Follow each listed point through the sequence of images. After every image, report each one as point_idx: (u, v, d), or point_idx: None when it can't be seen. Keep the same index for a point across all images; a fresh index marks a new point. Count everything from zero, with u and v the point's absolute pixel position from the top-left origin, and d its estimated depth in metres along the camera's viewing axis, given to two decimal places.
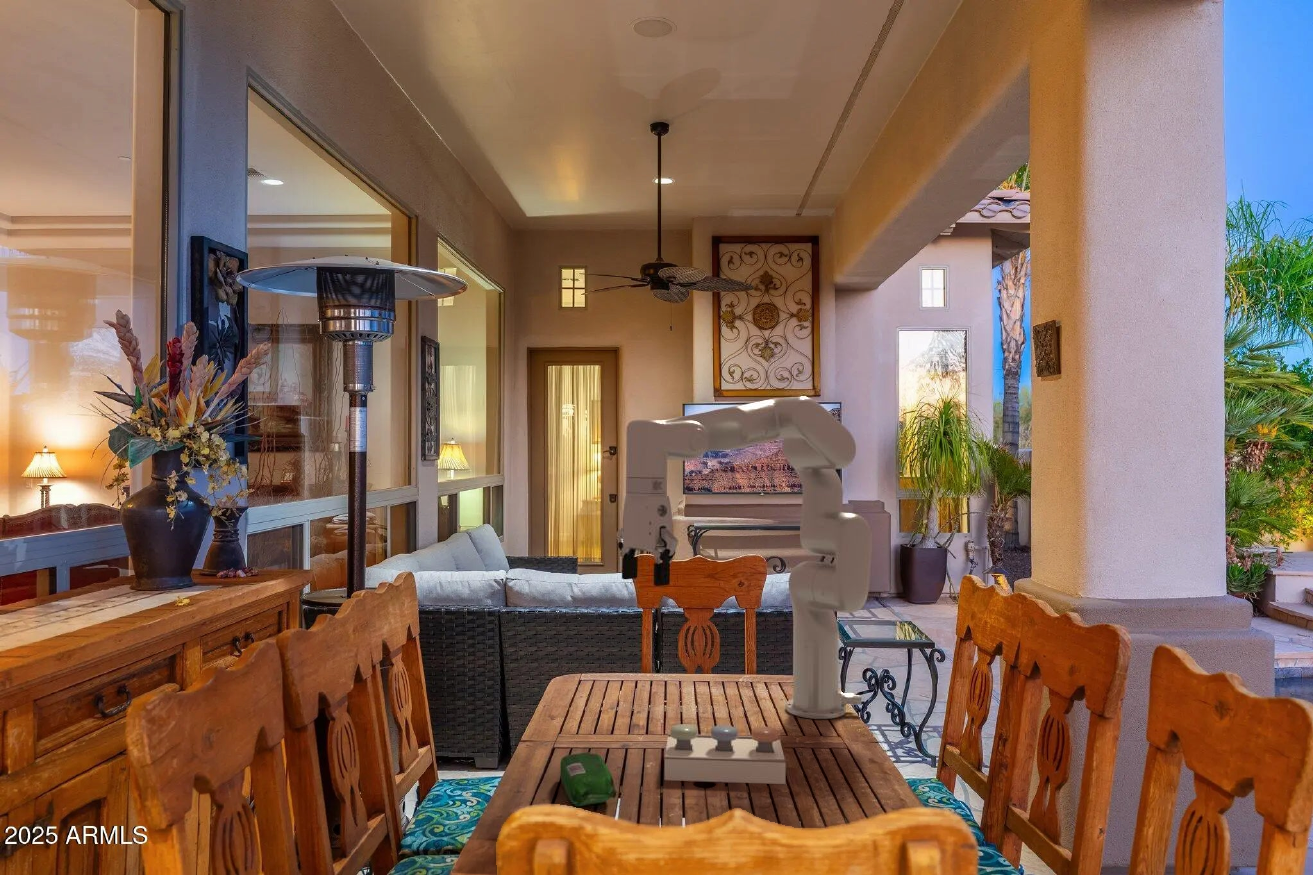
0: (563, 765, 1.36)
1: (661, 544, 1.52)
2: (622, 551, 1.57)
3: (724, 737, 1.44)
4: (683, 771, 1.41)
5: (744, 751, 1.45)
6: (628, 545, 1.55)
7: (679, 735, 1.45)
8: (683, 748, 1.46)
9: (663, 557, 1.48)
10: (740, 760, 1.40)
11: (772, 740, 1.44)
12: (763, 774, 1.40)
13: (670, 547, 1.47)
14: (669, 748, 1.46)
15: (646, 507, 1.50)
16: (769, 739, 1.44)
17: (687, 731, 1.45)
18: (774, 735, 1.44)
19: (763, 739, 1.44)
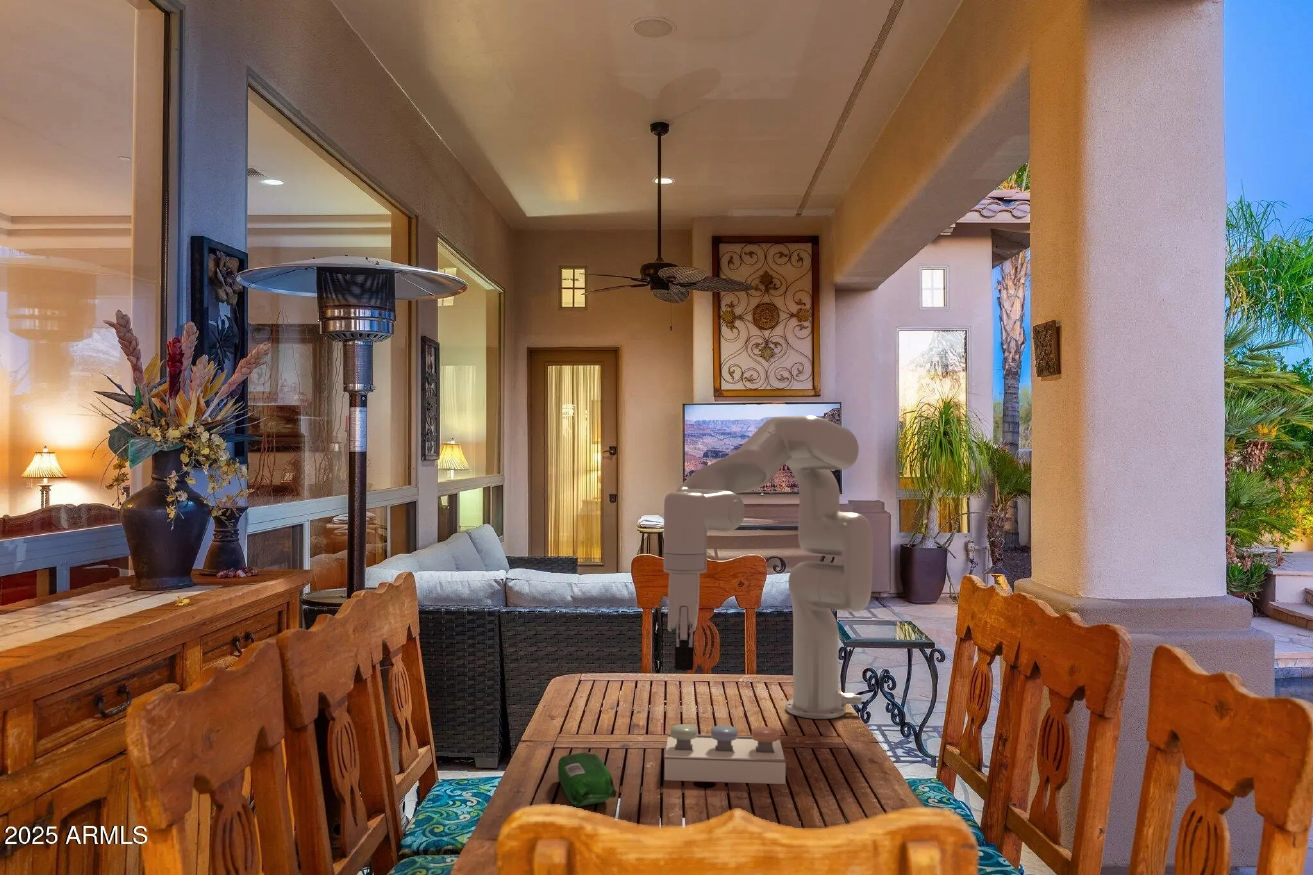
0: (561, 765, 1.36)
1: None
2: (691, 641, 1.46)
3: (724, 737, 1.44)
4: (683, 771, 1.41)
5: (744, 751, 1.45)
6: None
7: (679, 735, 1.45)
8: (683, 748, 1.46)
9: None
10: (740, 760, 1.40)
11: (772, 740, 1.44)
12: (763, 774, 1.40)
13: None
14: (669, 748, 1.46)
15: None
16: (769, 739, 1.44)
17: (687, 731, 1.45)
18: (774, 735, 1.44)
19: (763, 739, 1.44)
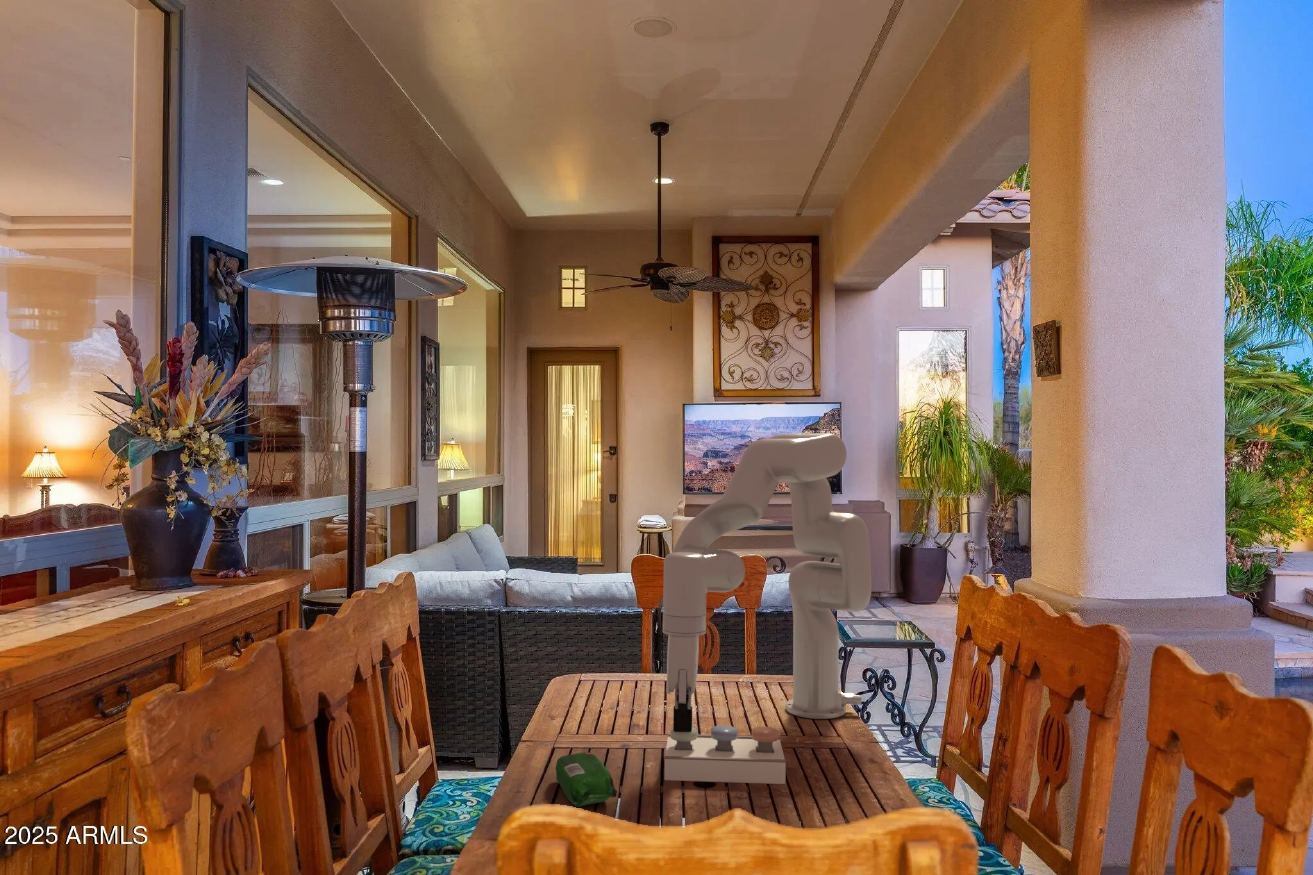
0: (560, 766, 1.36)
1: None
2: (690, 704, 1.45)
3: (724, 737, 1.44)
4: (683, 771, 1.41)
5: (744, 751, 1.45)
6: None
7: (679, 737, 1.45)
8: None
9: None
10: (740, 760, 1.40)
11: (772, 740, 1.44)
12: (763, 774, 1.40)
13: None
14: (669, 748, 1.46)
15: None
16: (769, 739, 1.44)
17: (687, 733, 1.45)
18: (774, 735, 1.44)
19: (763, 739, 1.44)
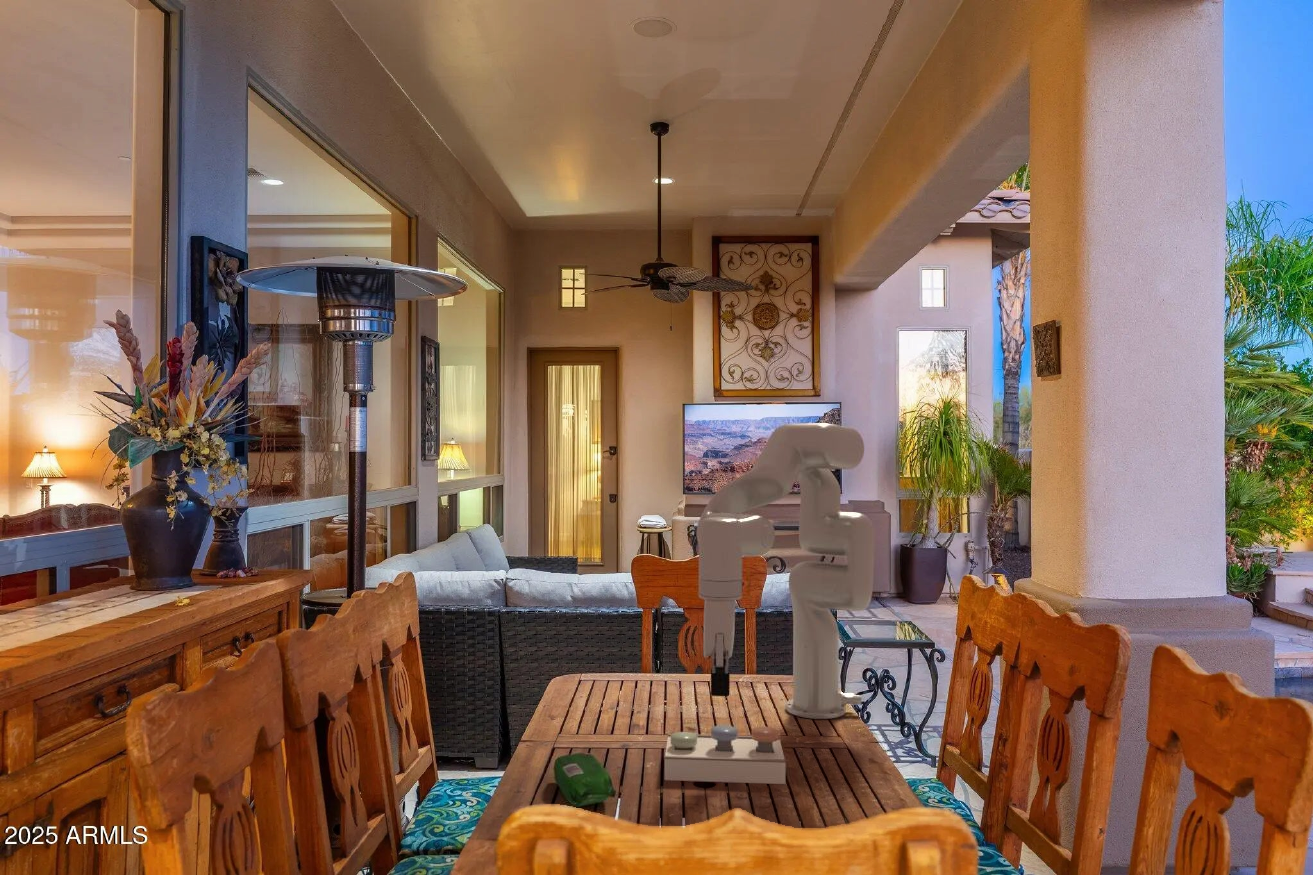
0: (558, 766, 1.36)
1: None
2: (727, 668, 1.45)
3: (724, 737, 1.44)
4: (683, 771, 1.41)
5: (744, 751, 1.45)
6: None
7: (679, 743, 1.45)
8: None
9: None
10: (740, 760, 1.40)
11: (772, 740, 1.44)
12: (763, 774, 1.40)
13: None
14: (669, 748, 1.46)
15: None
16: (769, 739, 1.44)
17: (687, 739, 1.45)
18: (774, 735, 1.44)
19: (763, 739, 1.44)
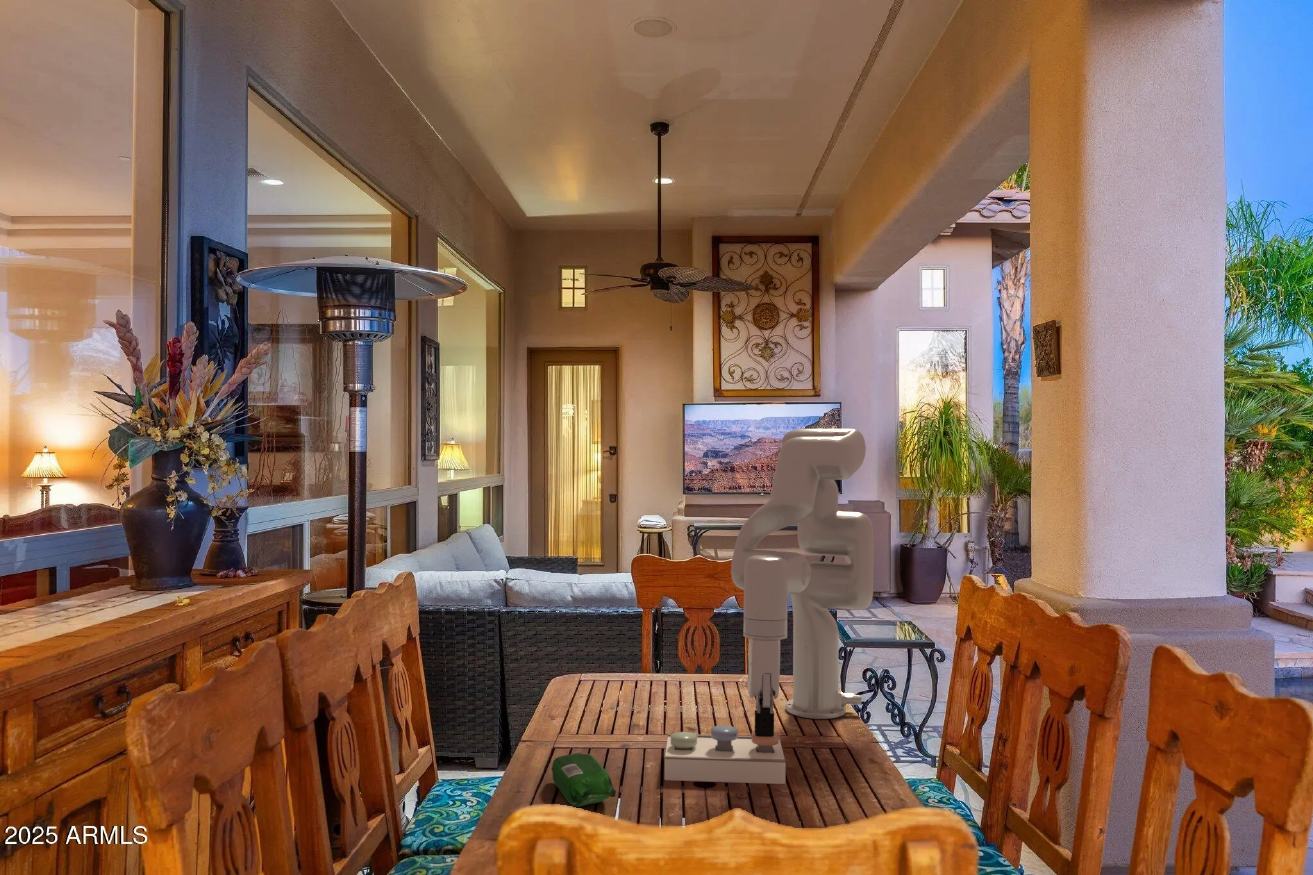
0: (557, 766, 1.35)
1: None
2: None
3: (724, 737, 1.44)
4: (683, 771, 1.41)
5: (744, 751, 1.45)
6: None
7: (679, 743, 1.45)
8: None
9: None
10: (740, 760, 1.40)
11: (772, 744, 1.44)
12: (763, 774, 1.40)
13: None
14: (669, 748, 1.46)
15: None
16: (769, 743, 1.44)
17: (687, 739, 1.45)
18: (774, 739, 1.44)
19: (763, 743, 1.44)
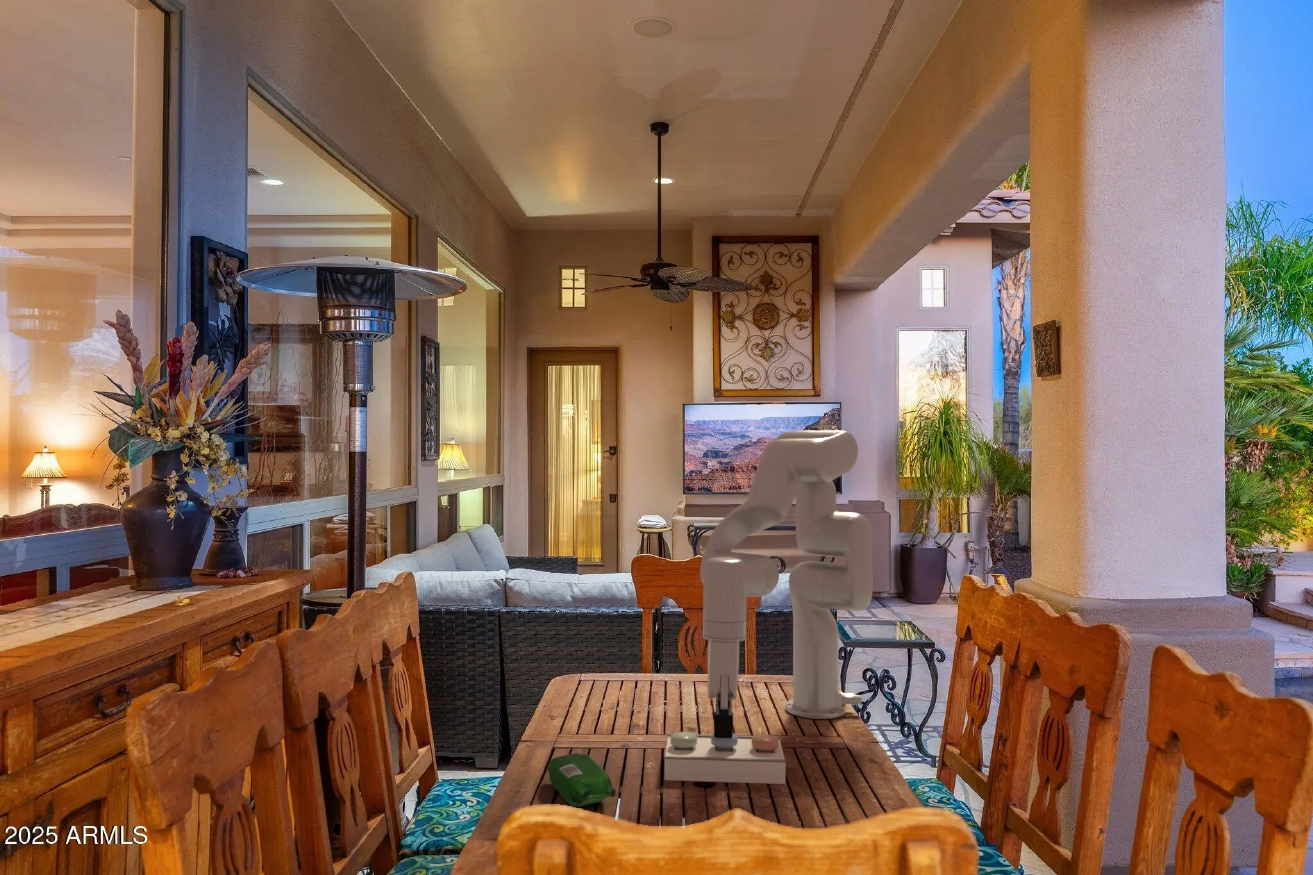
0: (555, 767, 1.35)
1: None
2: (731, 709, 1.45)
3: (724, 743, 1.44)
4: (683, 771, 1.41)
5: (744, 751, 1.45)
6: None
7: (679, 743, 1.45)
8: None
9: None
10: (740, 760, 1.40)
11: (772, 748, 1.44)
12: (763, 774, 1.40)
13: None
14: (669, 748, 1.46)
15: None
16: (769, 747, 1.44)
17: (687, 739, 1.45)
18: (774, 743, 1.44)
19: (763, 747, 1.44)
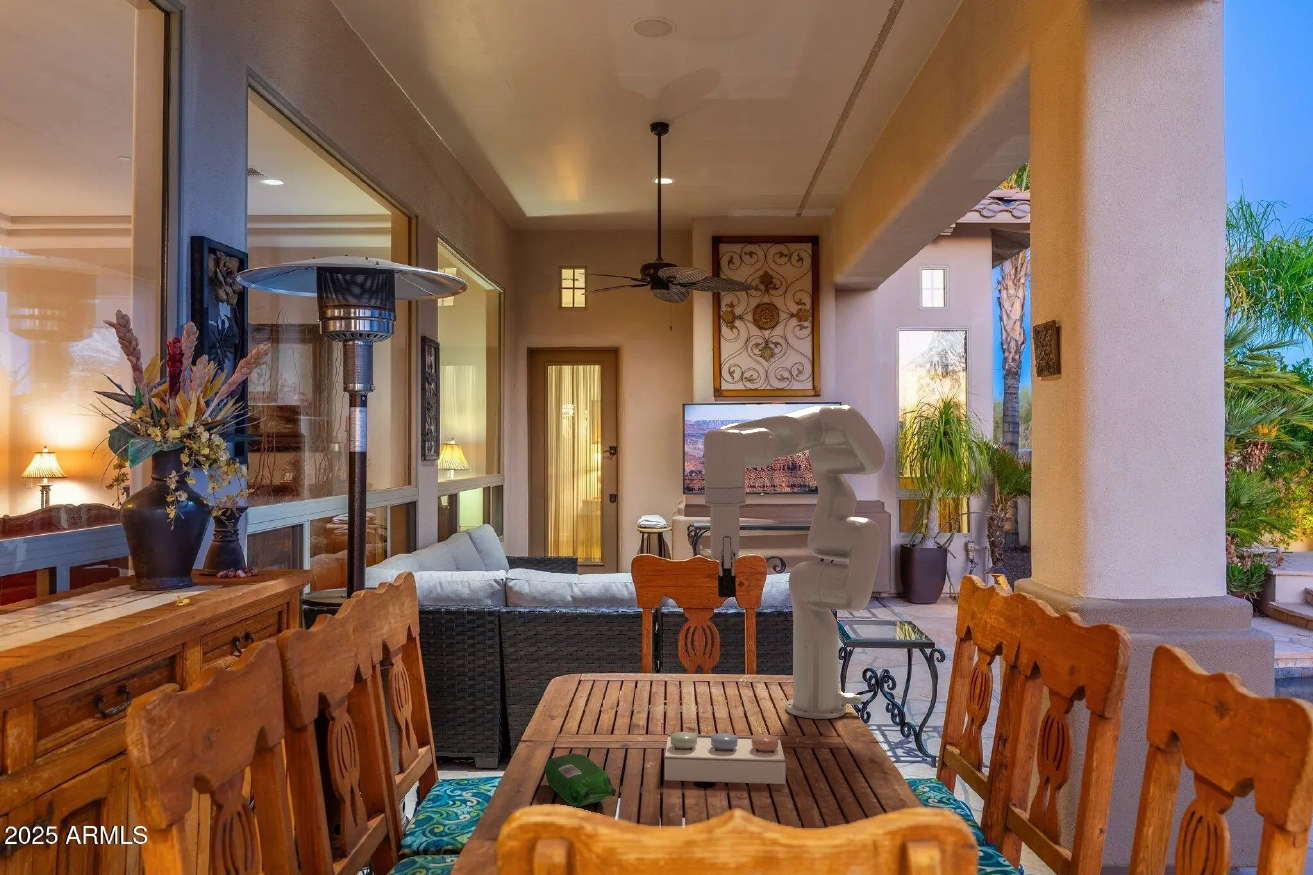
0: (553, 768, 1.35)
1: None
2: None
3: (724, 745, 1.44)
4: (683, 771, 1.41)
5: (744, 751, 1.45)
6: None
7: (679, 743, 1.45)
8: None
9: None
10: (740, 760, 1.40)
11: (772, 748, 1.44)
12: (763, 774, 1.40)
13: None
14: (669, 748, 1.46)
15: None
16: (769, 747, 1.44)
17: (687, 739, 1.45)
18: (774, 743, 1.44)
19: (763, 747, 1.44)
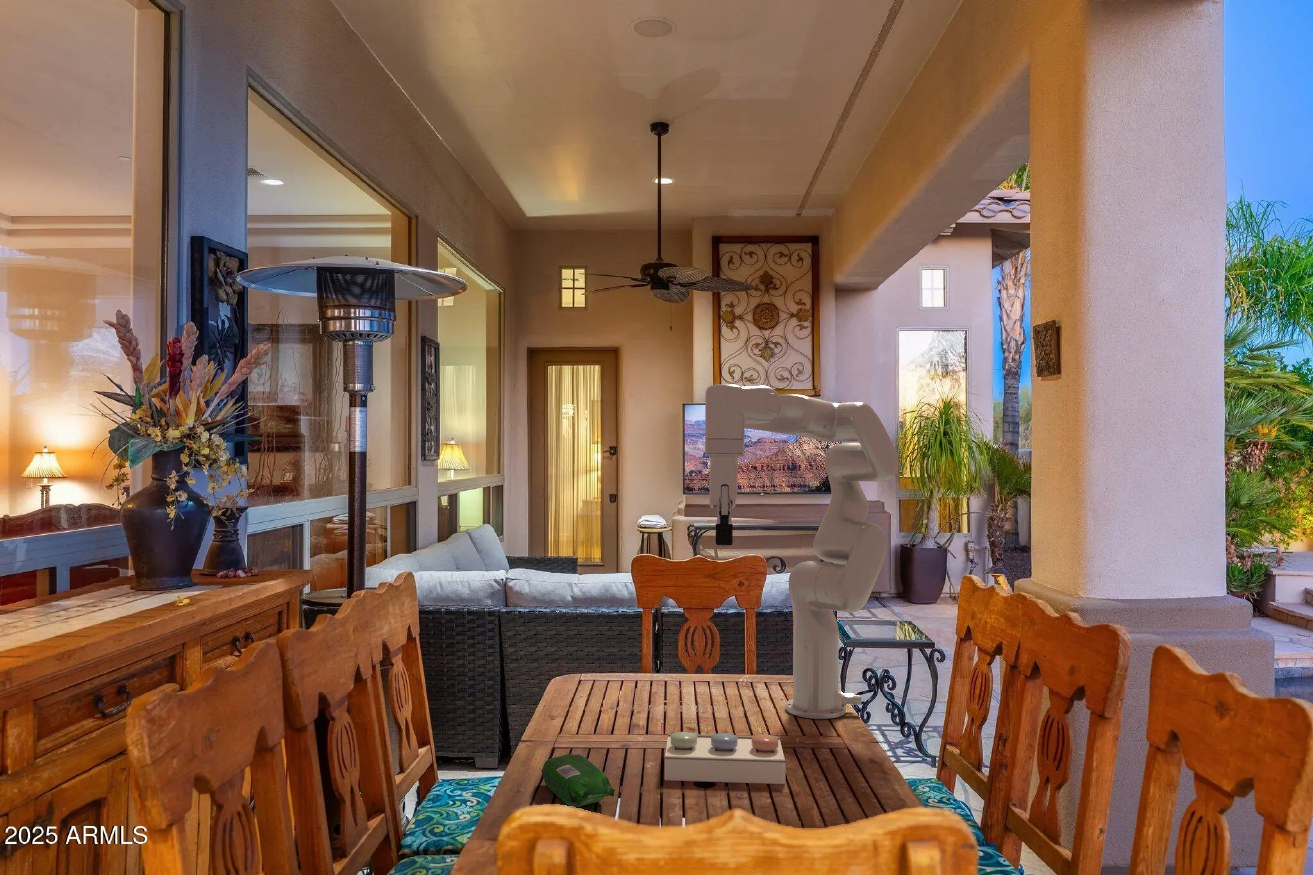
0: (551, 768, 1.35)
1: None
2: None
3: (724, 745, 1.44)
4: (683, 771, 1.41)
5: (744, 751, 1.45)
6: None
7: (679, 743, 1.45)
8: None
9: None
10: (740, 760, 1.40)
11: (772, 748, 1.44)
12: (763, 774, 1.40)
13: None
14: (669, 748, 1.46)
15: None
16: (769, 747, 1.44)
17: (687, 739, 1.45)
18: (774, 743, 1.44)
19: (763, 747, 1.44)
